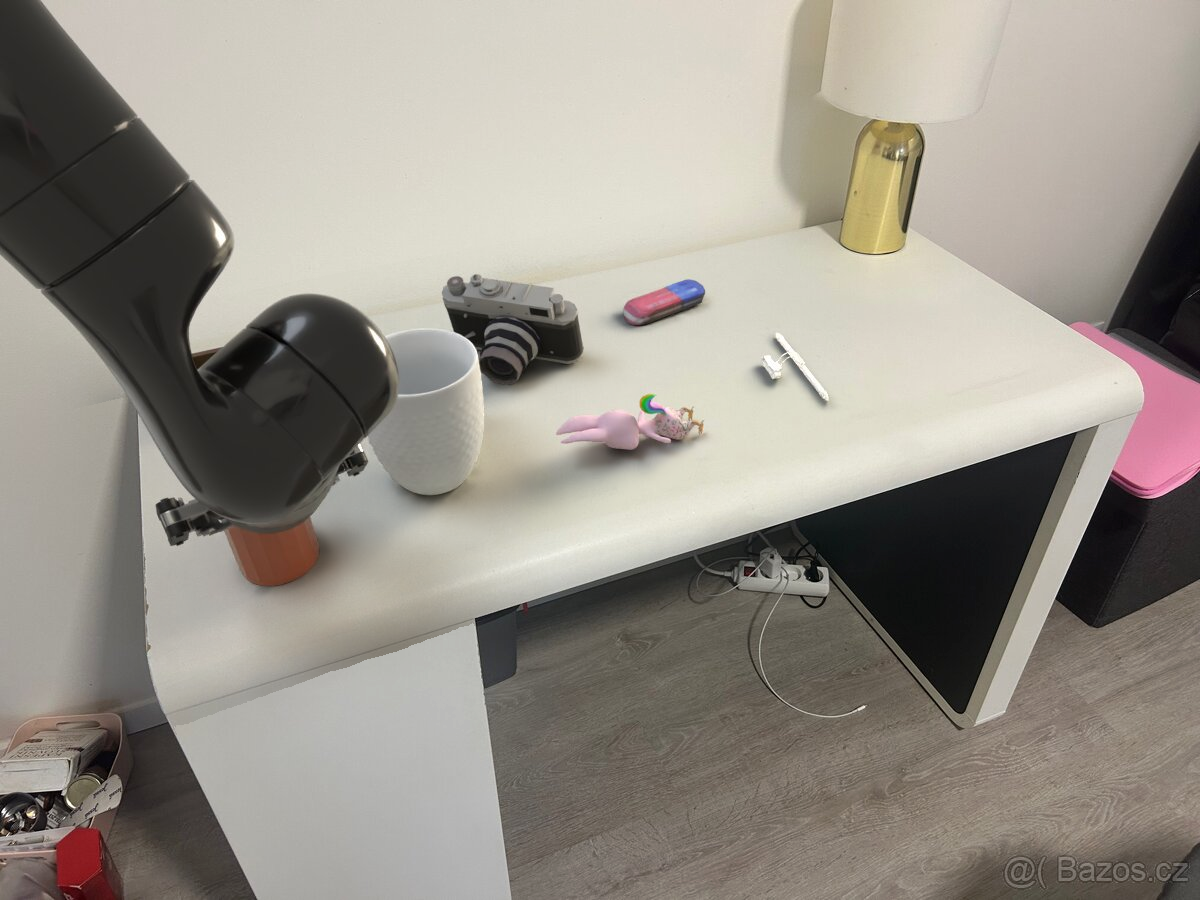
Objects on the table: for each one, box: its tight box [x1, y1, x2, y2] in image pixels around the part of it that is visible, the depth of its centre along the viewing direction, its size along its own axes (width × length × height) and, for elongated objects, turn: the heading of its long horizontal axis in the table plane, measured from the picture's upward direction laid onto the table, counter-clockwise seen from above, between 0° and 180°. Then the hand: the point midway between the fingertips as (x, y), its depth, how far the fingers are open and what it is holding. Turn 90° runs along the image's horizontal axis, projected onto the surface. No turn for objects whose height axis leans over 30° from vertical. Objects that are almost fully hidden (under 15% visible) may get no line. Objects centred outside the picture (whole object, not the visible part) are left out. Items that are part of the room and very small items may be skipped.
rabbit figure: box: [555, 393, 705, 451], centre depth 83 cm, size 6×6×15 cm
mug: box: [367, 327, 485, 496], centre depth 79 cm, size 15×11×13 cm
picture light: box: [760, 332, 830, 402], centre depth 95 cm, size 14×4×2 cm, turn 14°
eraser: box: [622, 278, 706, 326], centre depth 105 cm, size 11×4×2 cm, turn 123°
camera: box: [441, 273, 585, 385], centre depth 93 cm, size 16×9×10 cm, turn 73°
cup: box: [223, 516, 320, 587], centre depth 71 cm, size 7×7×9 cm
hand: (263, 500), depth 67 cm, fingers open, 8 cm apart
